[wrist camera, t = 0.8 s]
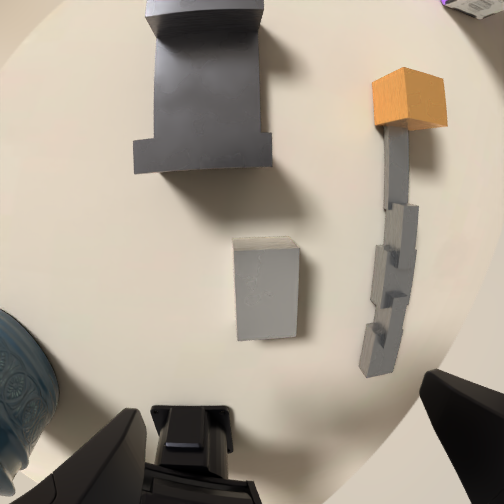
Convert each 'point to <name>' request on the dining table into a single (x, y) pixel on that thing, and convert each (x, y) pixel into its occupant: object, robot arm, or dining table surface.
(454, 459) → the robot arm
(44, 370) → the canister
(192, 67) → the grey u-shaped bracket
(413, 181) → the dining table surface
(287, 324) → the grey block
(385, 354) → the orange headed key
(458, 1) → the candy box
